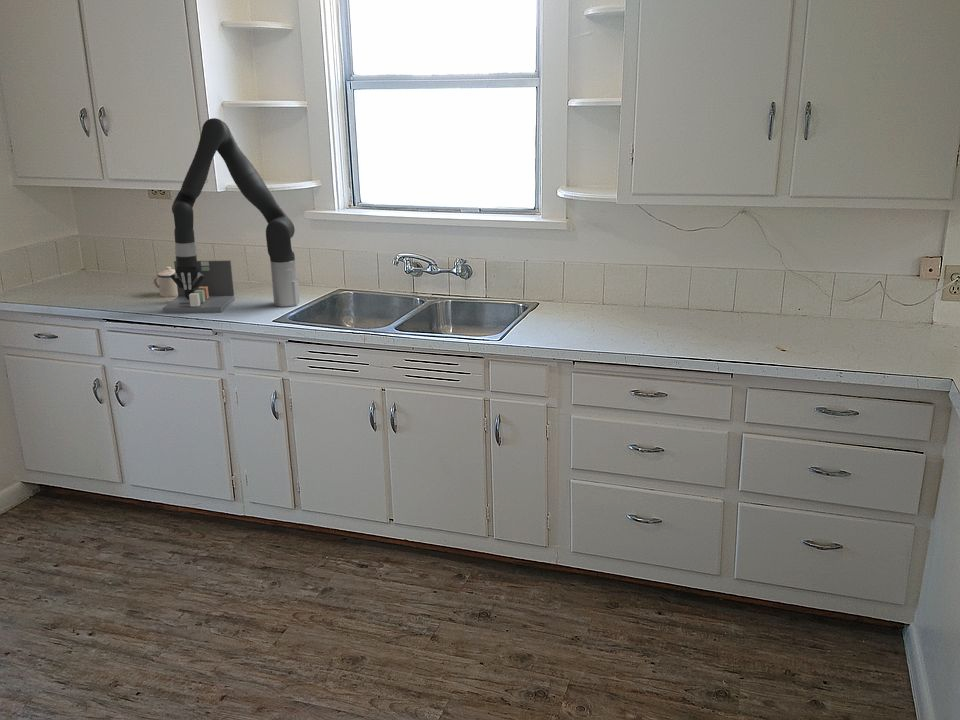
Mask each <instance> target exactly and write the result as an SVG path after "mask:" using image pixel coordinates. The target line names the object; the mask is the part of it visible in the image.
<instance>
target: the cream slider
mask: <svg viewBox="0 0 960 720" xmlns="http://www.w3.org/2000/svg"><path fill="white" fill-rule="evenodd" d="M189 299H190V306H199V305H200V297H199V293H191V294H189Z"/></svg>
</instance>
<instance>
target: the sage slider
mask: <svg viewBox="0 0 960 720" xmlns="http://www.w3.org/2000/svg"><path fill="white" fill-rule="evenodd" d="M194 293H199V297H200V303H204V302H205V293H204V290H195V291H194Z"/></svg>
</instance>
